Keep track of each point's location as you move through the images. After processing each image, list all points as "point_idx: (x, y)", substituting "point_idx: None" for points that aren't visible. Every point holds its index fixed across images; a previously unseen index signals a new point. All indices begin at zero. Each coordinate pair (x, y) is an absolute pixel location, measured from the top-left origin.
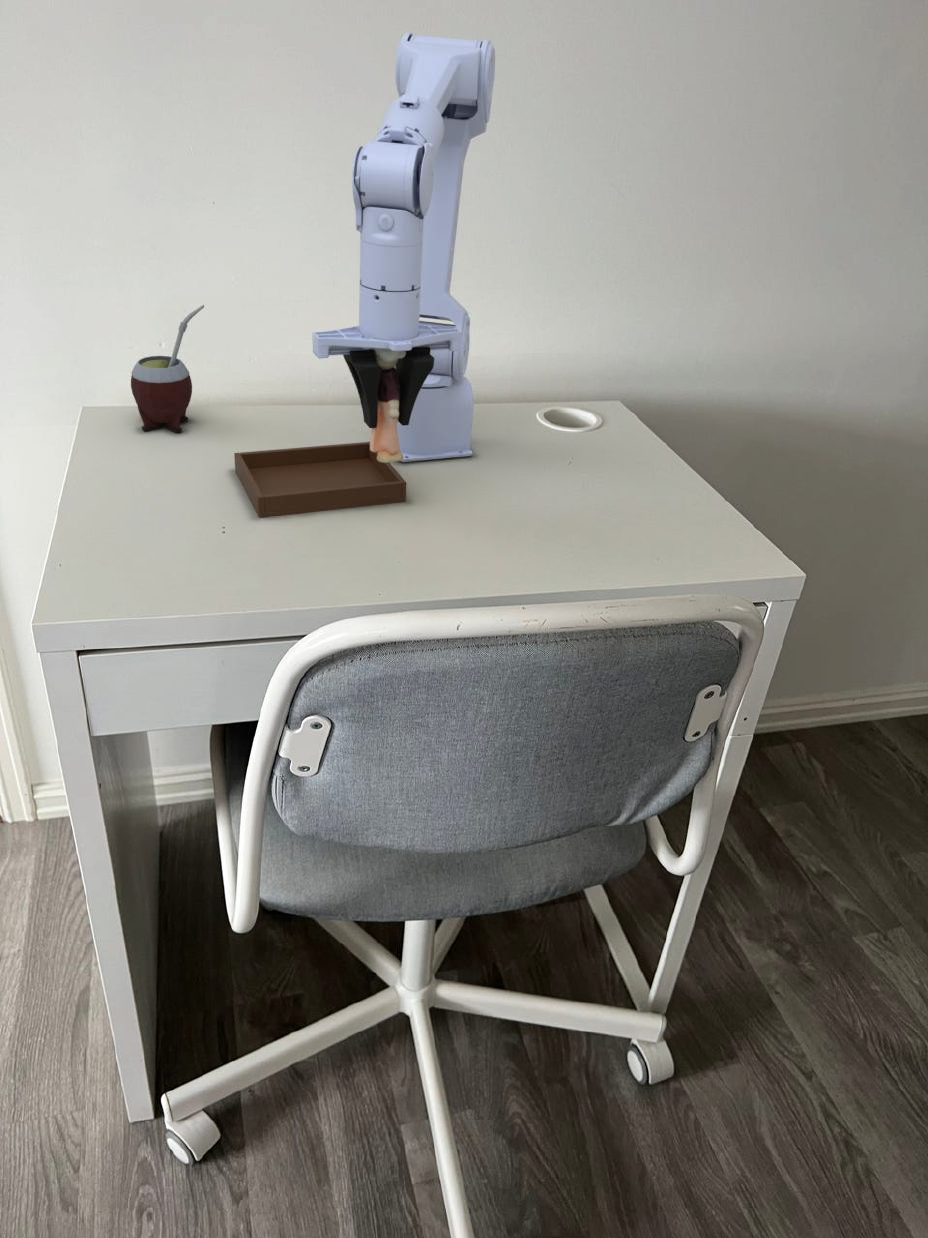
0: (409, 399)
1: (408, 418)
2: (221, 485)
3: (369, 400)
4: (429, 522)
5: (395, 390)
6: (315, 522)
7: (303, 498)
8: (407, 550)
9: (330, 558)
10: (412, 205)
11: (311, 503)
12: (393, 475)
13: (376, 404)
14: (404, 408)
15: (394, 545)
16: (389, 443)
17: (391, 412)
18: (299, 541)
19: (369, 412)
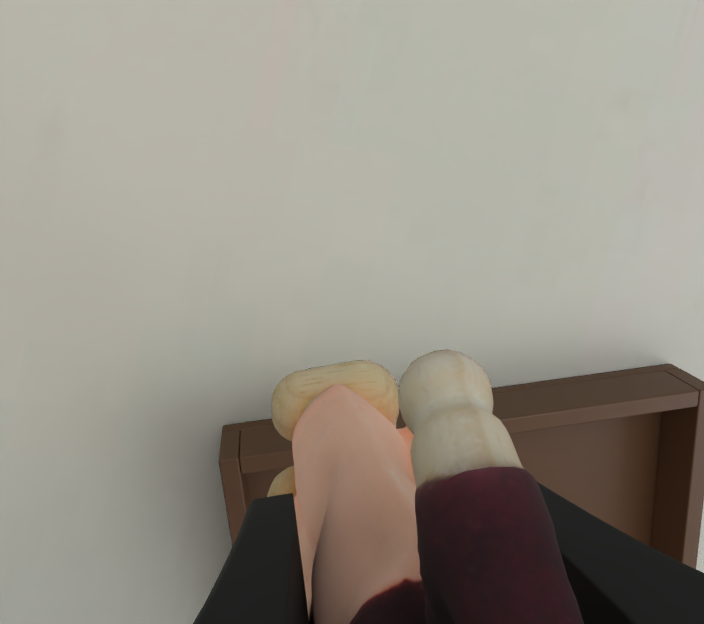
0: (261, 611)
1: (255, 518)
2: (700, 556)
3: (645, 550)
4: (173, 270)
5: (495, 574)
6: (531, 317)
7: (571, 399)
8: (299, 72)
9: (555, 67)
10: None
11: (538, 393)
12: None
13: (558, 540)
14: (292, 567)
15: (334, 118)
16: (367, 407)
17: (481, 381)
18: (609, 200)
19: (571, 505)
